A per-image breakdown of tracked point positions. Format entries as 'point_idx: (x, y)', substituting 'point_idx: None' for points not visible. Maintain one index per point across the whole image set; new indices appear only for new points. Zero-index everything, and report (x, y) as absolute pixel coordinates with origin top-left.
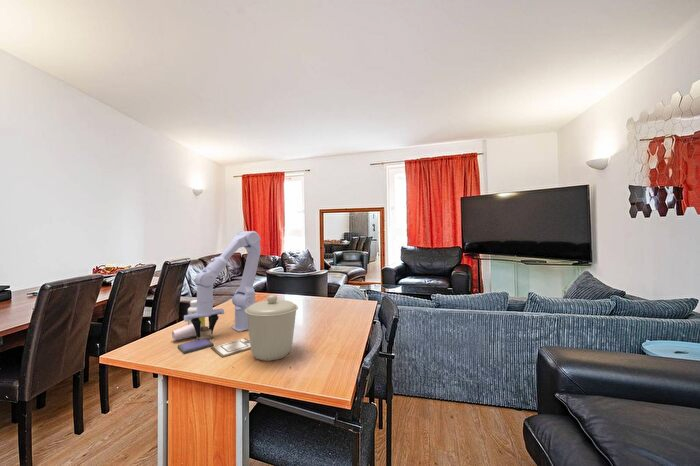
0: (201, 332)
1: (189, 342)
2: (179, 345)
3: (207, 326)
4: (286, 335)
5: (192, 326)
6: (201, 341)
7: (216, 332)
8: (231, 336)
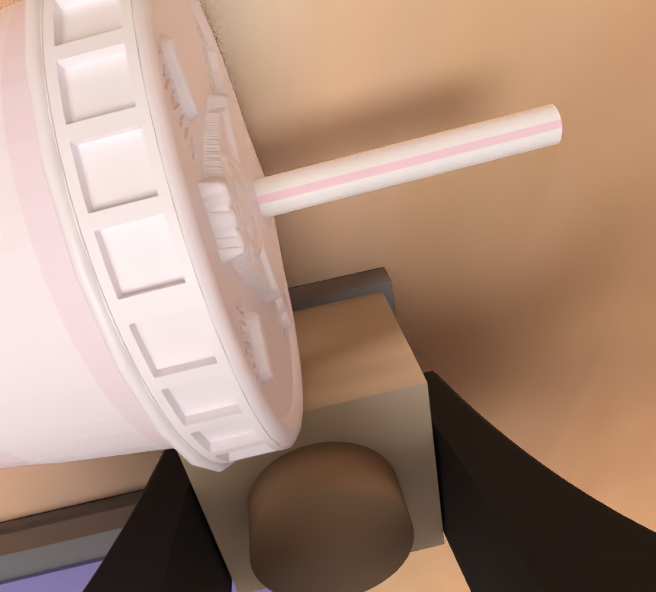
0: (255, 587)
1: (70, 555)
2: None
3: (466, 156)
4: None
5: (10, 466)
6: None
7: (572, 135)
8: (644, 444)
